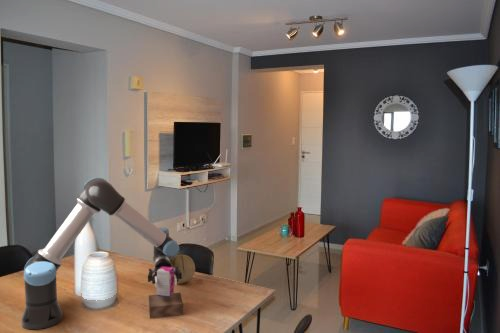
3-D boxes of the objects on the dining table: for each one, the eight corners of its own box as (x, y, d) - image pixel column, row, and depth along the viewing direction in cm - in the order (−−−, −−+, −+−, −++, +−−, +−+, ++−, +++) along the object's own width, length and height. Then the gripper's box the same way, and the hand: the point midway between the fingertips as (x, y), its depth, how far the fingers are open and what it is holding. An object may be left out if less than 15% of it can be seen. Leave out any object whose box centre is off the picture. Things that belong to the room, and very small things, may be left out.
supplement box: (169, 297, 181) (168, 271, 180) (156, 296, 182) (156, 270, 181) (174, 292, 186) (174, 267, 185) (161, 290, 188) (161, 266, 186)
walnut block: (149, 318, 177) (149, 307, 177) (148, 306, 189) (148, 295, 188) (183, 314, 181) (183, 303, 181) (180, 303, 193) (180, 292, 192)
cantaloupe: (182, 290, 207) (182, 260, 205) (160, 284, 214) (160, 255, 213) (201, 280, 219) (201, 253, 218) (179, 275, 227) (179, 248, 225)
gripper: (184, 271, 204) (190, 290, 182) (140, 275, 199) (141, 294, 177) (184, 256, 203) (190, 273, 181) (140, 260, 198) (141, 277, 176)
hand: (166, 284), depth 179 cm, fingers closed on supplement box, 7 cm apart
